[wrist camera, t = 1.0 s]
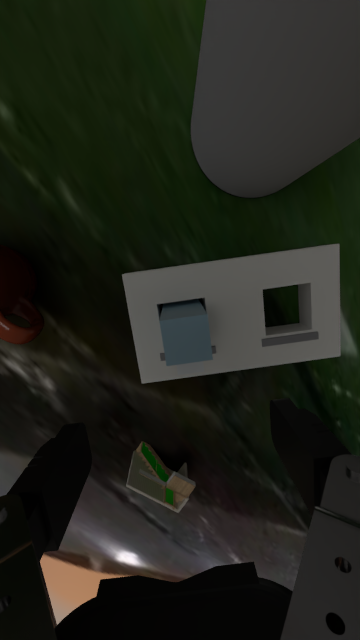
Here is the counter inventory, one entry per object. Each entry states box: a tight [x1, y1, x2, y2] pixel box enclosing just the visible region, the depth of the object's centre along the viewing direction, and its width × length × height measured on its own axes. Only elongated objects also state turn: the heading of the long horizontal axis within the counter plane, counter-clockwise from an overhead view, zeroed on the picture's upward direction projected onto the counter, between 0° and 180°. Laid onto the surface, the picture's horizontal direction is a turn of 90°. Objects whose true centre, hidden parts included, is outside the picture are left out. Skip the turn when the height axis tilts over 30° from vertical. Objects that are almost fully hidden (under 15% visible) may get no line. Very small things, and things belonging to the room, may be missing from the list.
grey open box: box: [126, 441, 195, 513], centre depth 32 cm, size 4×7×8 cm, turn 57°
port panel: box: [122, 244, 341, 384], centre depth 30 cm, size 12×22×3 cm, turn 98°
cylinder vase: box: [191, 0, 360, 198], centre depth 15 cm, size 12×12×25 cm
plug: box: [159, 299, 213, 375], centre depth 27 cm, size 5×4×9 cm
